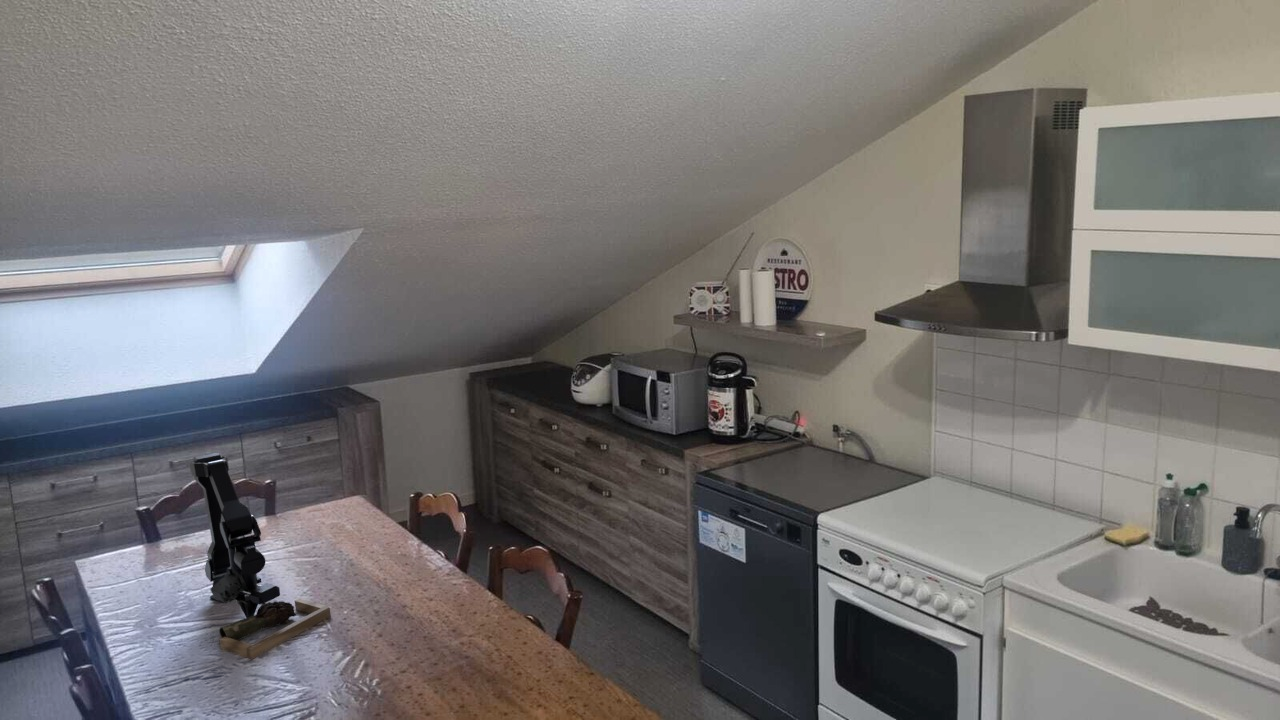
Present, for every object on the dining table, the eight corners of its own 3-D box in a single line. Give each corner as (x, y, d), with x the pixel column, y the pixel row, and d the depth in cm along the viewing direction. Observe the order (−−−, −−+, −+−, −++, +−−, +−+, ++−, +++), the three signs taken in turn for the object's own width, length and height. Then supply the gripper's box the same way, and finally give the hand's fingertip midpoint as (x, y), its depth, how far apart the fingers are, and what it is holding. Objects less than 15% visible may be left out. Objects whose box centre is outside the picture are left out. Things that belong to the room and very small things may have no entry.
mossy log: (228, 648, 230) (225, 626, 228) (217, 639, 234) (214, 617, 233) (298, 621, 242) (295, 601, 240) (287, 613, 246) (284, 593, 245)
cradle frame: (220, 648, 229) (219, 639, 228) (300, 607, 249) (299, 598, 249) (252, 659, 223) (250, 649, 223) (330, 615, 244) (329, 606, 243)
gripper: (190, 567, 235) (198, 625, 239) (239, 581, 226) (247, 641, 229) (228, 551, 245) (236, 607, 248) (278, 563, 236) (285, 622, 239)
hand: (250, 619), depth 241 cm, fingers closed
